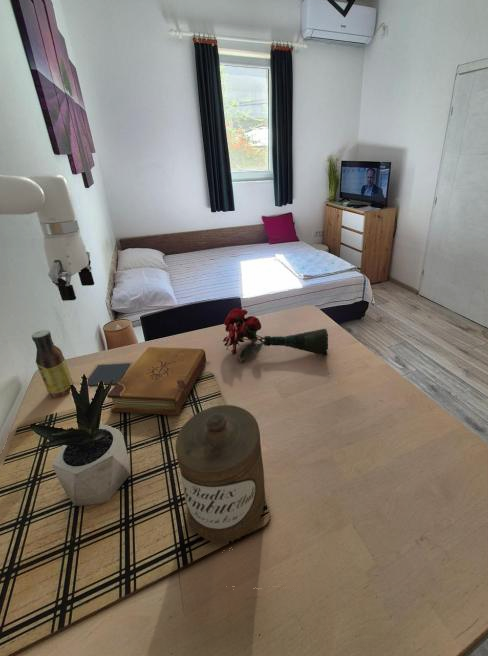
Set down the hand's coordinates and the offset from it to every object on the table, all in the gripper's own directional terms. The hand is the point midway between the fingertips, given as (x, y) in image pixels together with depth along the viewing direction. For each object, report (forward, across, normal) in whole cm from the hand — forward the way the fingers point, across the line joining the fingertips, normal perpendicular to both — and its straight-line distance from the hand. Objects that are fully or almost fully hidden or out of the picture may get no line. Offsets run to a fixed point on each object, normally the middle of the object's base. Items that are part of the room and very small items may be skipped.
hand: (79, 292), depth 86 cm
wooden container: (+30, +39, +40) cm, 64 cm away
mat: (+30, -5, -1) cm, 31 cm away
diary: (+30, +2, +18) cm, 35 cm away
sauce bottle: (+30, +2, -12) cm, 33 cm away
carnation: (+30, -13, +52) cm, 61 cm away
